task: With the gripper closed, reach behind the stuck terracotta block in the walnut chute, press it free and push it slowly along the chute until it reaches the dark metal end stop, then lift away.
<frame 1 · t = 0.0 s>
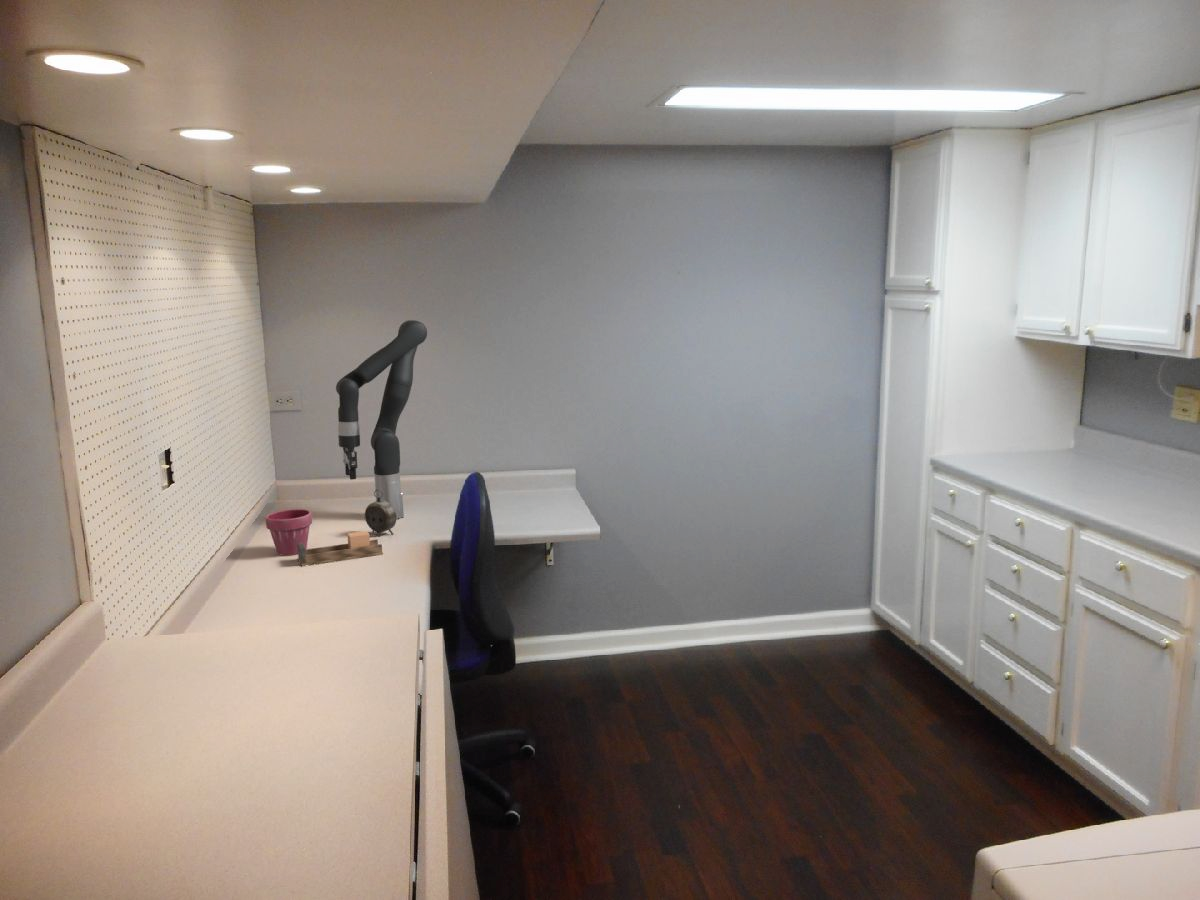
hand: (350, 477, 314), 17 cm above the table, tool pointing down, fingers open, 8 cm apart
terracotta block: (359, 542, 277), point 4 cm above the table, slide at 0.0 cm
walnut chute: (340, 556, 275), on the table
plant pot: (291, 552, 282), on the table
alarm clock: (381, 535, 300), on the table
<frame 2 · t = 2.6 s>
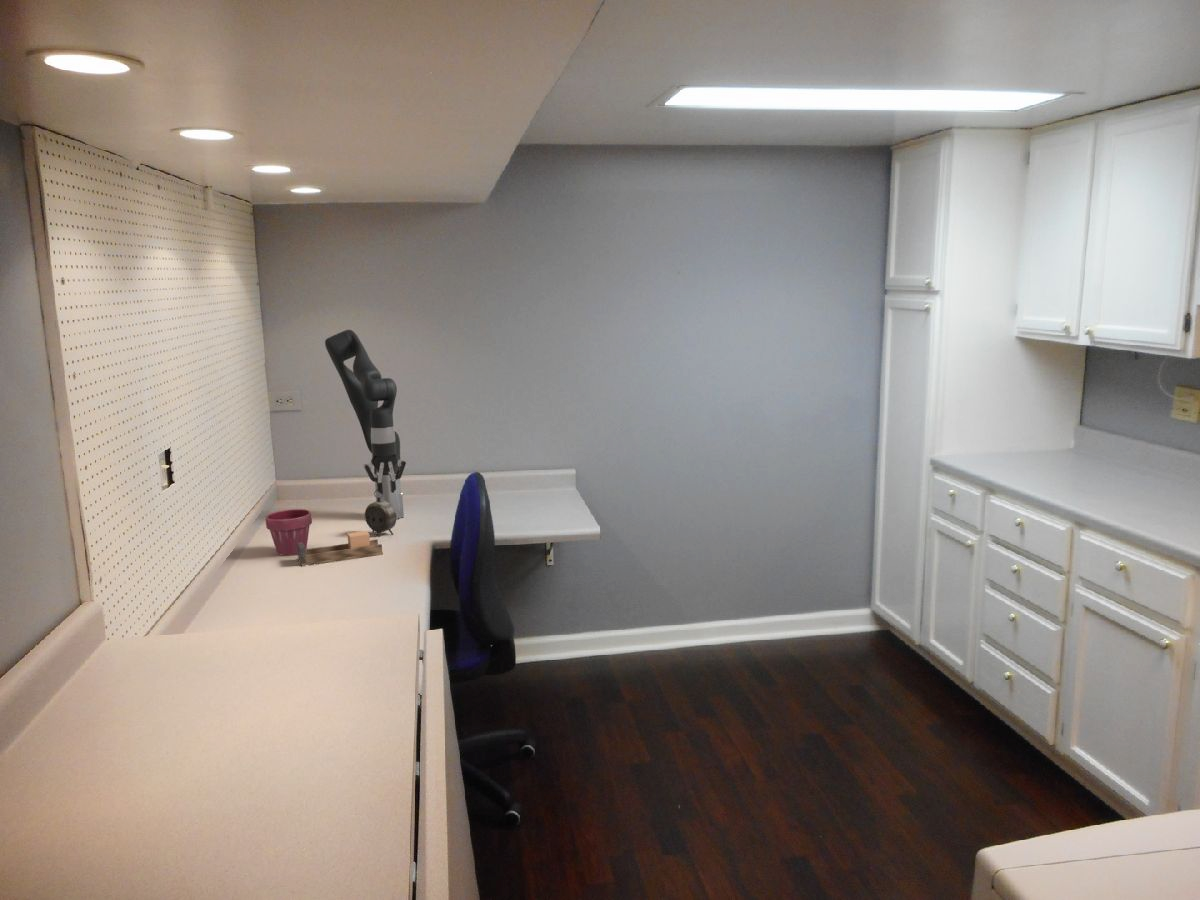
hand: (386, 492, 279), 19 cm above the table, tool pointing down, fingers open, 3 cm apart
nothing on the table moved.
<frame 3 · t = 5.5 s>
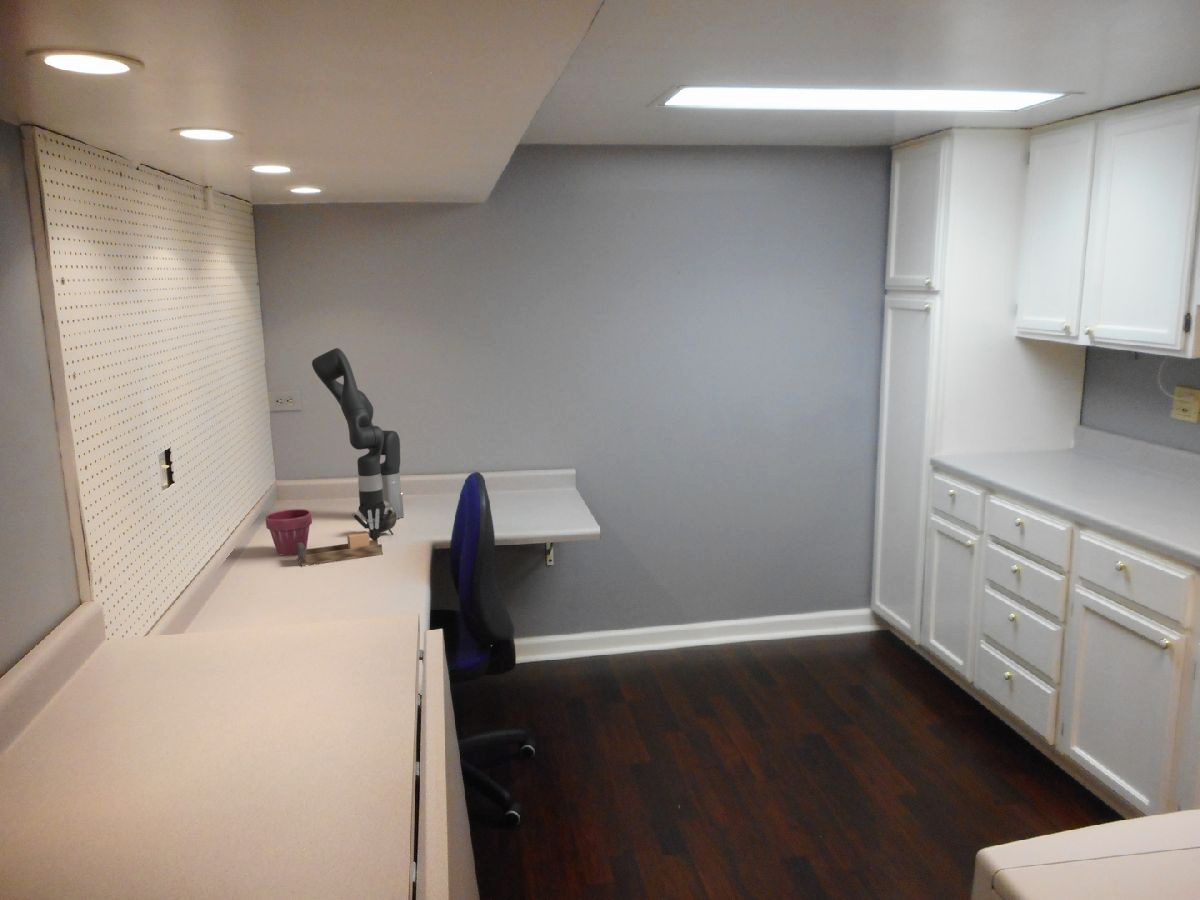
hand: (374, 539, 279), 4 cm above the table, tool pointing down, fingers closed
terracotta block: (358, 542, 277), point 4 cm above the table, slide at 0.2 cm, touching gripper
everything else where it was.
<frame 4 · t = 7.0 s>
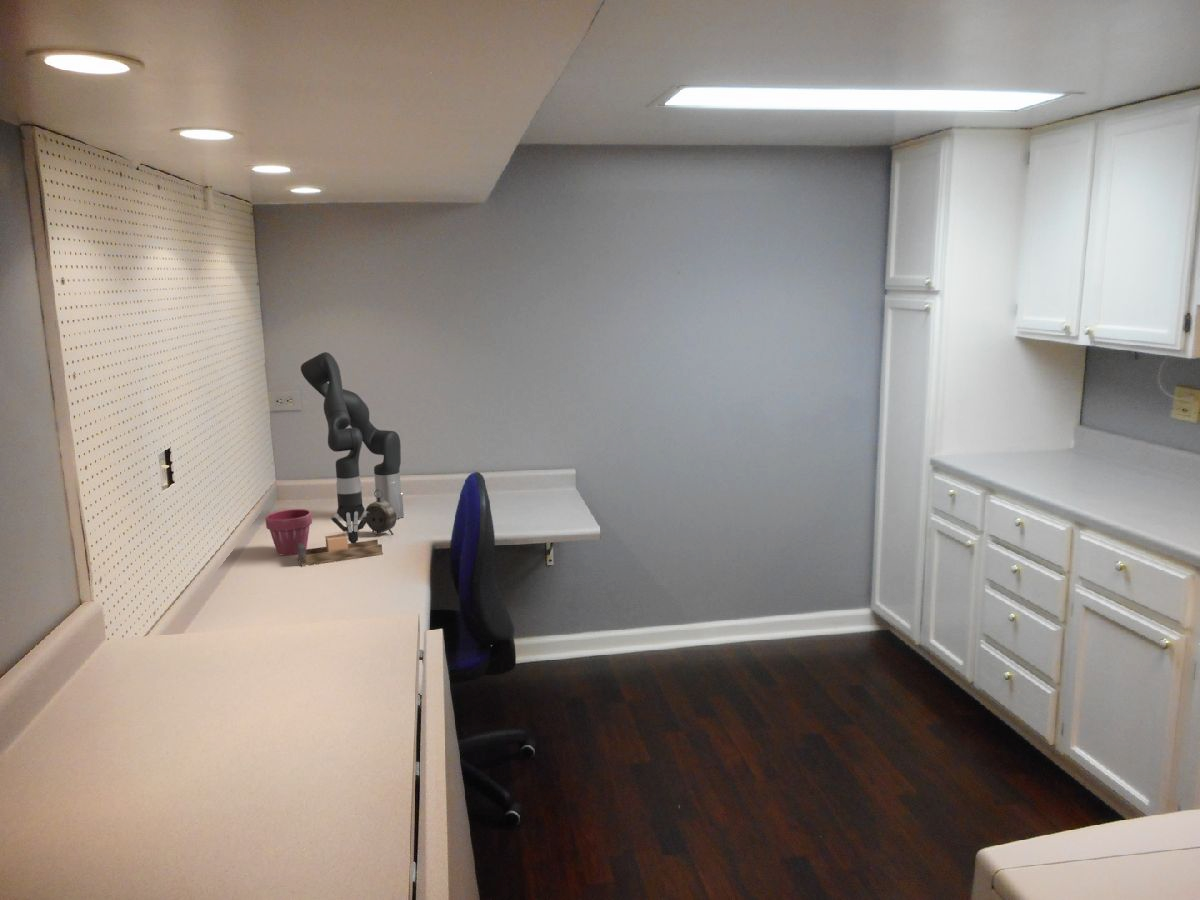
hand: (353, 542, 276), 4 cm above the table, tool pointing down, fingers closed
terracotta block: (337, 545, 274), point 4 cm above the table, slide at 6.9 cm, touching gripper
everything else where it was.
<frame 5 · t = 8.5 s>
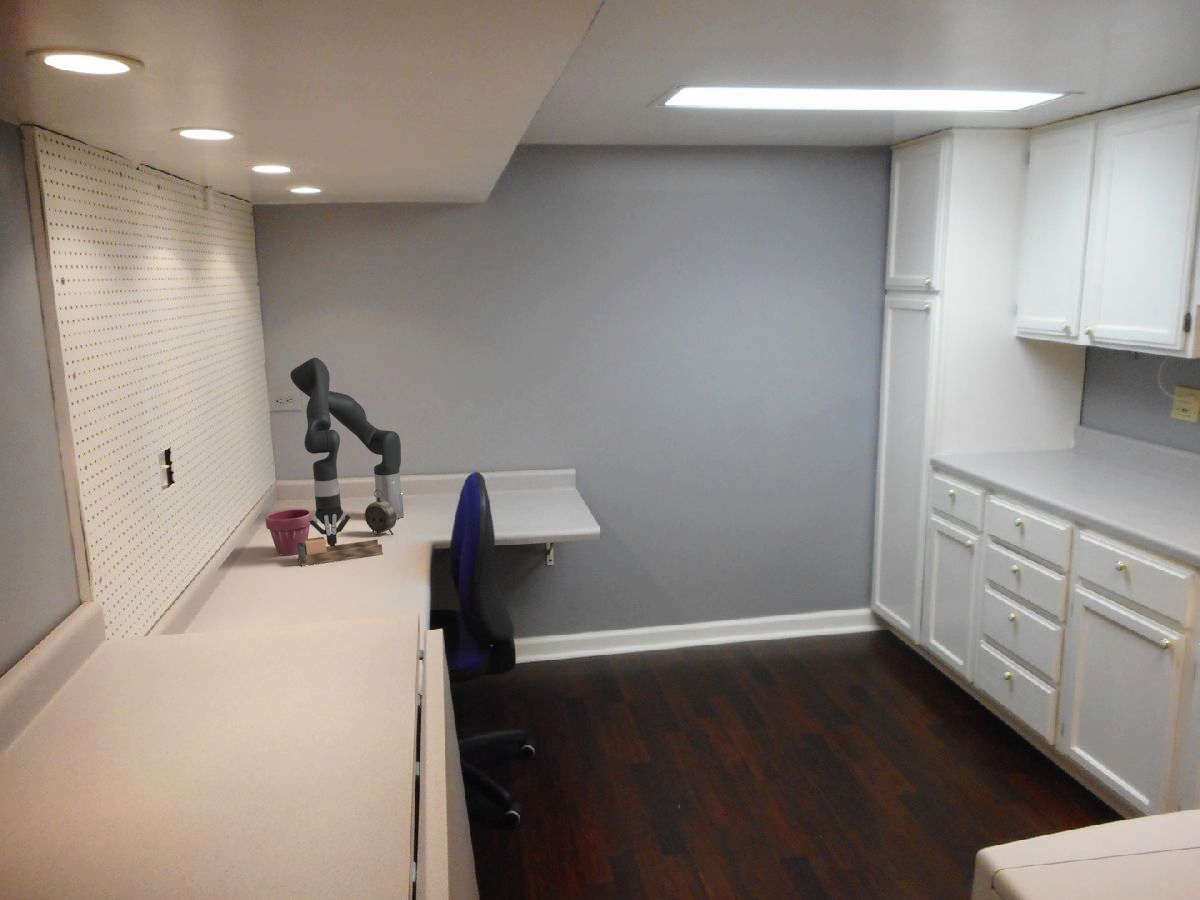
hand: (332, 545, 274), 4 cm above the table, tool pointing down, fingers closed
terracotta block: (315, 549, 272), point 4 cm above the table, slide at 13.5 cm, touching gripper
everything else where it was.
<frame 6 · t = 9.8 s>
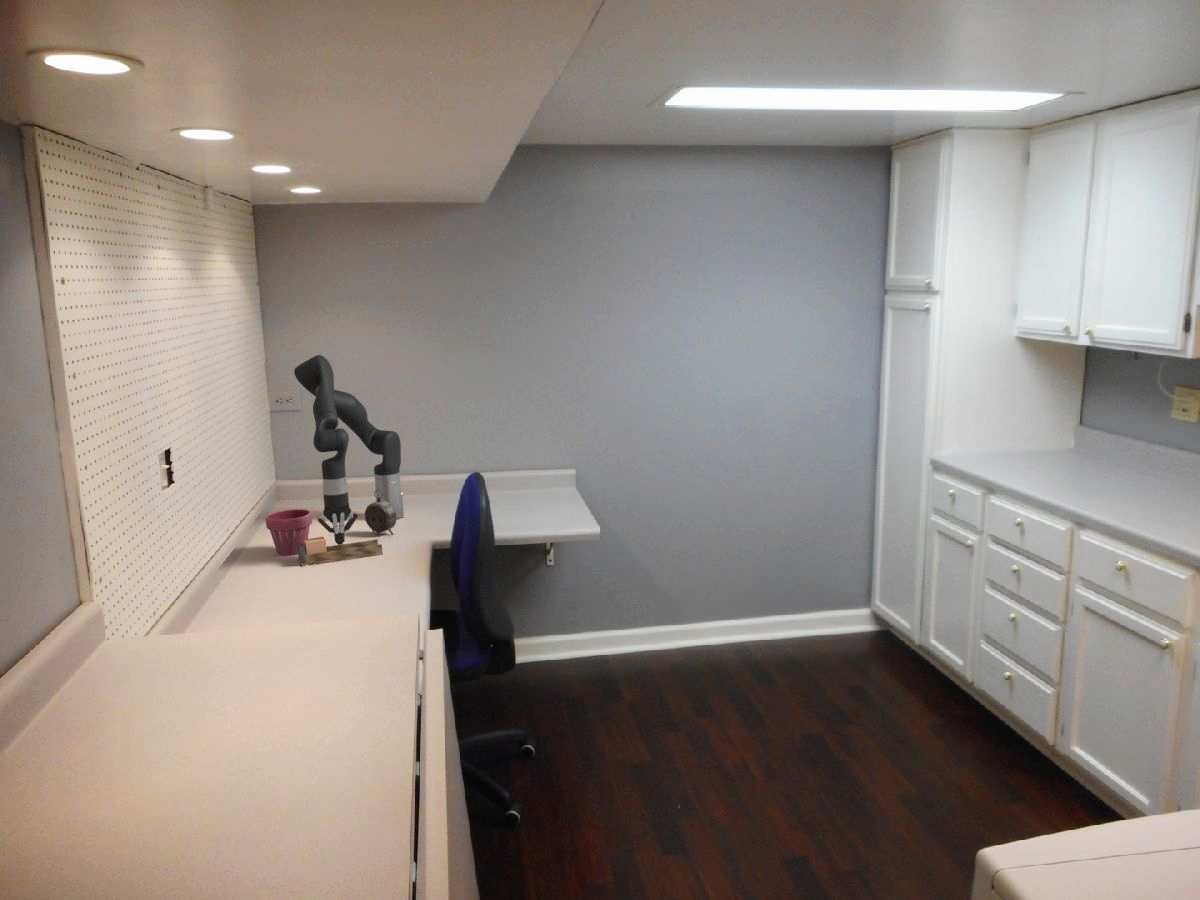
hand: (339, 543, 275), 4 cm above the table, tool pointing down, fingers closed
terracotta block: (315, 549, 272), point 4 cm above the table, slide at 13.5 cm
everything else where it was.
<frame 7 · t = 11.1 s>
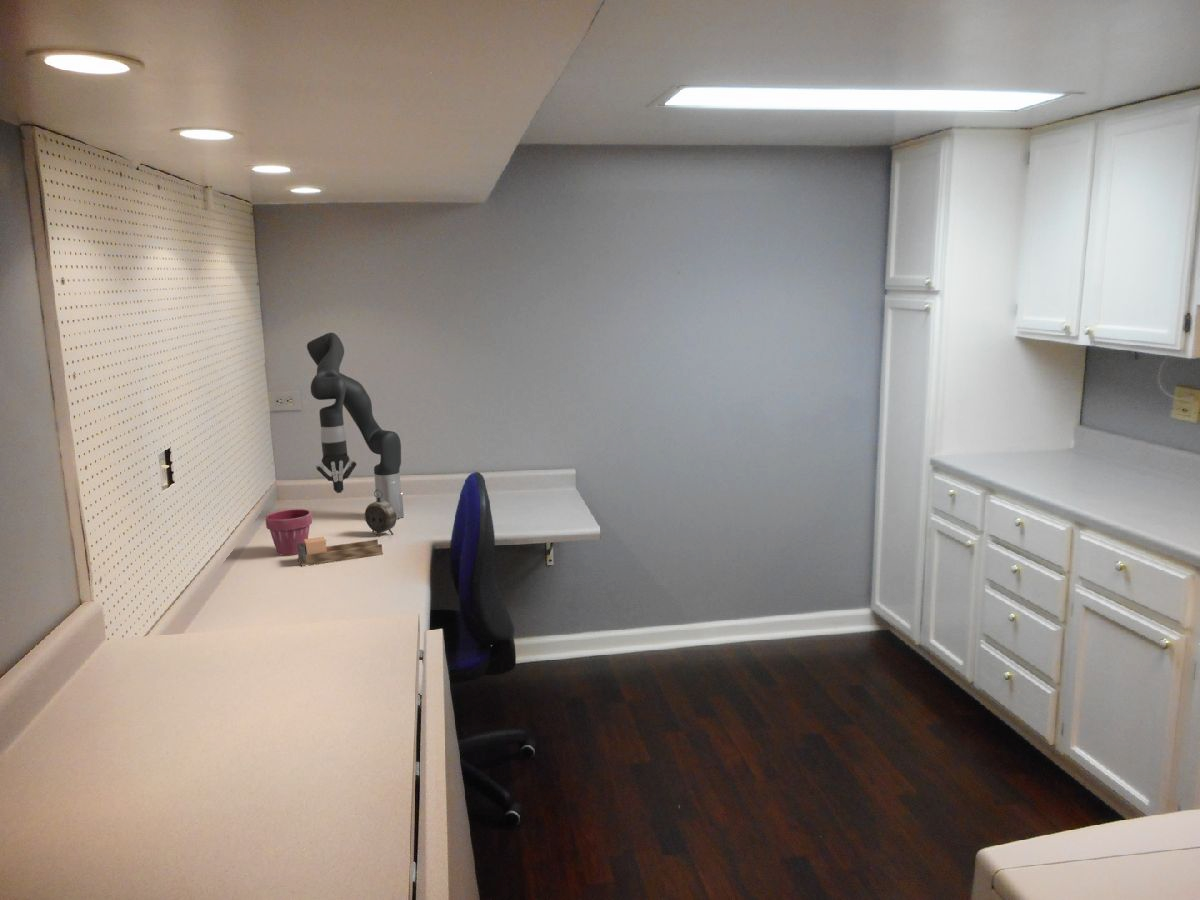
hand: (338, 492, 276), 20 cm above the table, tool pointing down, fingers closed
nothing on the table moved.
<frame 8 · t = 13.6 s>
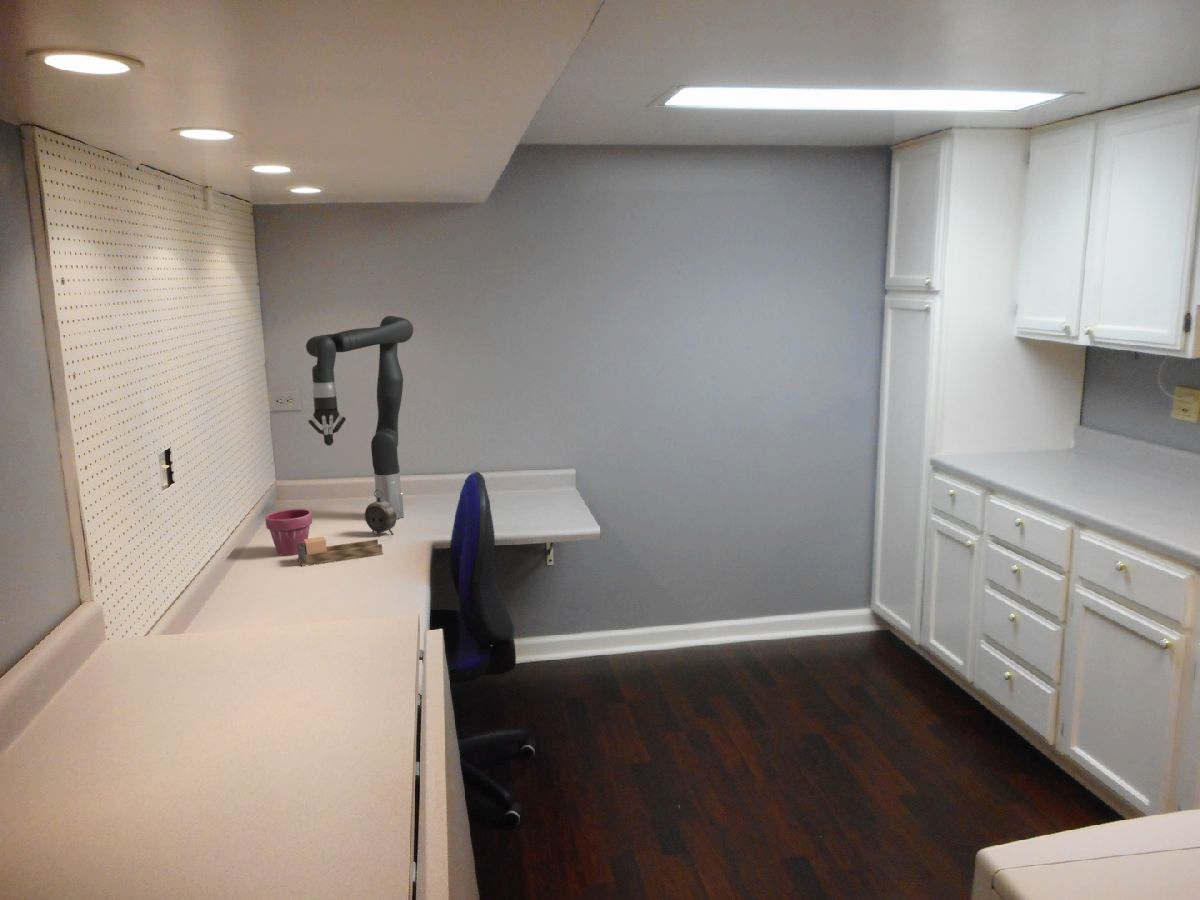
hand: (328, 445, 296), 32 cm above the table, tool pointing down, fingers closed
nothing on the table moved.
at the end: terracotta block slide at 13.5 cm; plant pot moved 0.2 cm from its start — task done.
